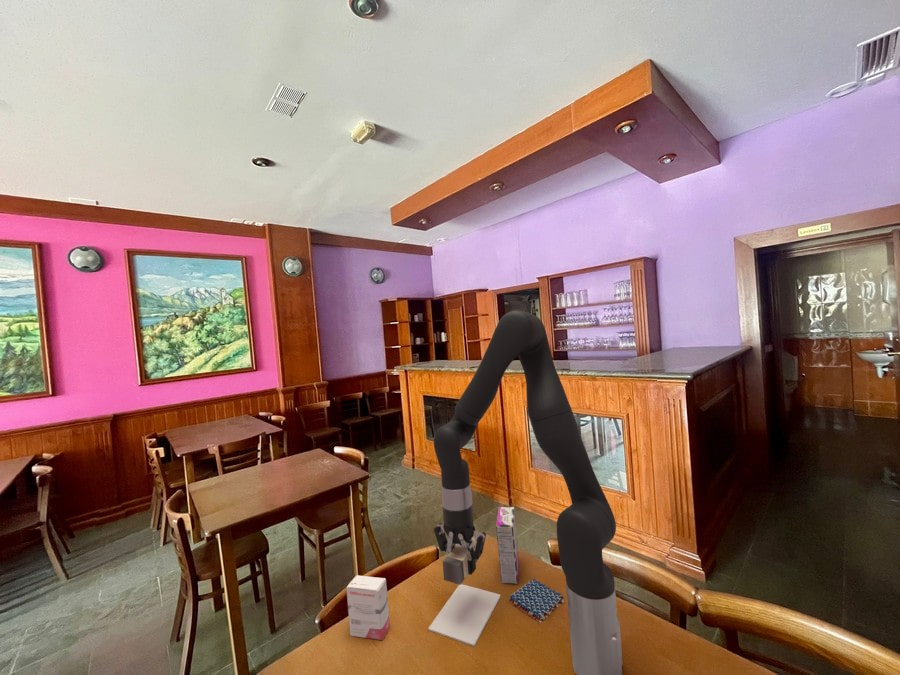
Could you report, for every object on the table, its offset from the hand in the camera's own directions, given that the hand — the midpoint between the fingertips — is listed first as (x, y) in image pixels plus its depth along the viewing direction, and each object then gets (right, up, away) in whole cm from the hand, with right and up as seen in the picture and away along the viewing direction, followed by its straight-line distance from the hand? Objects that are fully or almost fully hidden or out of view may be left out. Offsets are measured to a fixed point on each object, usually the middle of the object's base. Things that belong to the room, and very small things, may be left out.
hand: (462, 570), depth 91 cm
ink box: (-22, -13, -3) cm, 26 cm away
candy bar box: (+14, -10, +15) cm, 23 cm away
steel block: (+3, +3, +6) cm, 7 cm away
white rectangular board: (+1, -11, 0) cm, 11 cm away
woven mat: (+19, -10, +2) cm, 22 cm away
